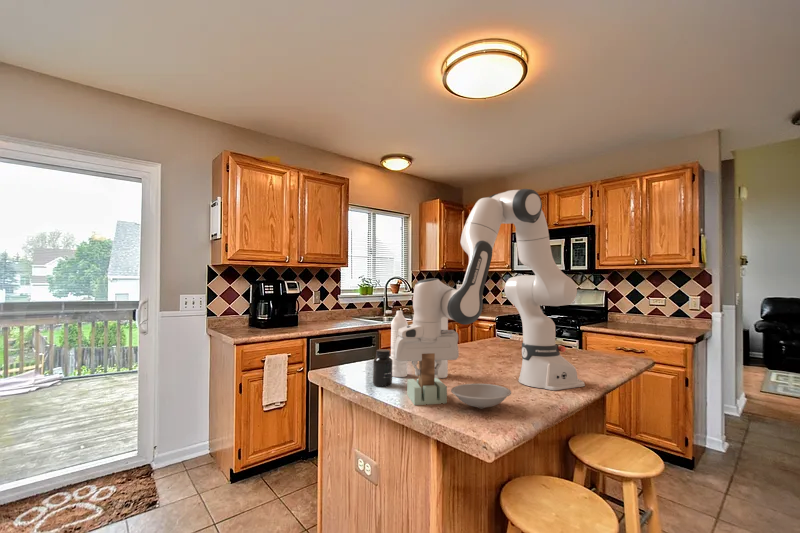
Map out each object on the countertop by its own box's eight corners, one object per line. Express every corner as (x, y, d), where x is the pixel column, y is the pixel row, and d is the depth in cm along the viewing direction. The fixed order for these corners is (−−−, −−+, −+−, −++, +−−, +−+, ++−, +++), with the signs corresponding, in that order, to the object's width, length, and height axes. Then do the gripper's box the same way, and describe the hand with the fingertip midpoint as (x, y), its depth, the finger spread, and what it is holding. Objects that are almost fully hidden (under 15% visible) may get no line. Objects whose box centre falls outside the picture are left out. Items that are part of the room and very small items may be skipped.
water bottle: (404, 372, 149) (405, 309, 149) (409, 377, 142) (409, 311, 143) (383, 374, 146) (383, 309, 147) (387, 378, 140) (387, 311, 141)
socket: (436, 393, 123) (437, 377, 123) (446, 403, 113) (446, 386, 113) (407, 394, 121) (407, 379, 121) (414, 405, 111) (414, 388, 111)
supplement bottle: (389, 387, 128) (390, 352, 129) (370, 386, 130) (370, 351, 130) (394, 382, 135) (394, 348, 135) (375, 381, 136) (376, 348, 137)
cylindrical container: (448, 378, 141) (448, 311, 142) (429, 378, 141) (430, 311, 142) (446, 373, 148) (446, 310, 149) (428, 373, 148) (428, 309, 149)
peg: (430, 389, 119) (431, 351, 119) (434, 392, 115) (434, 353, 116) (418, 389, 118) (418, 351, 119) (421, 393, 114) (422, 353, 115)
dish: (497, 398, 118) (497, 382, 118) (521, 414, 104) (521, 396, 104) (444, 401, 115) (444, 385, 115) (461, 419, 101) (461, 400, 101)
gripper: (454, 328, 123) (454, 370, 122) (393, 329, 118) (392, 373, 118) (461, 330, 116) (461, 375, 116) (397, 332, 112) (396, 378, 112)
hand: (426, 374), depth 117 cm, fingers closed on peg, 4 cm apart
